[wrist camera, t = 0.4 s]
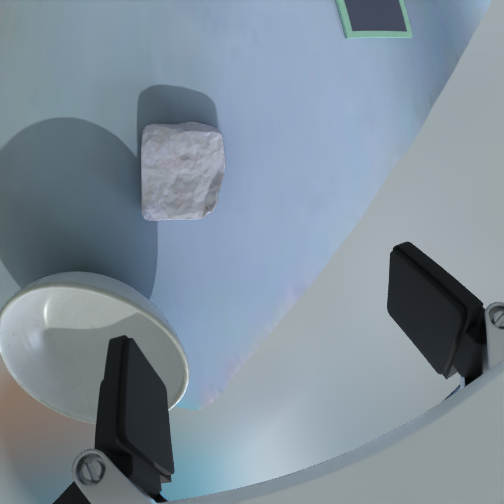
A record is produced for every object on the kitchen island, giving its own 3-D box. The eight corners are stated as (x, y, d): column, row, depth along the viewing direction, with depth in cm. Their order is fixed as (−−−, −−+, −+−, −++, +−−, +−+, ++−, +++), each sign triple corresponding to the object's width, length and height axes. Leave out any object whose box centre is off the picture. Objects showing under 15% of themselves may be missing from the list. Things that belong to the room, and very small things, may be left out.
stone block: (218, 120, 36) (137, 121, 32) (232, 125, 32) (141, 126, 28) (212, 207, 42) (139, 214, 38) (224, 221, 38) (143, 230, 34)
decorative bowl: (0, 305, 38) (-26, 356, 28) (88, 194, 35) (57, 234, 24) (115, 388, 51) (112, 441, 41) (218, 316, 48) (232, 374, 38)
